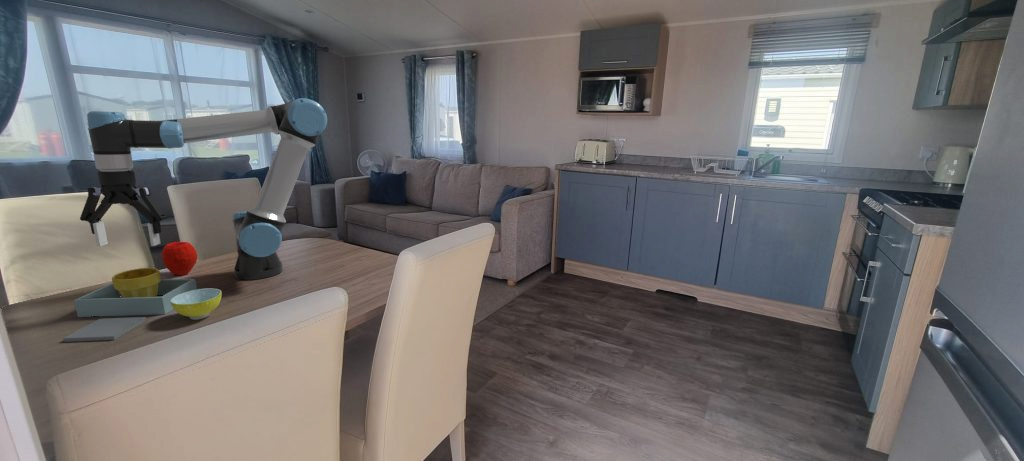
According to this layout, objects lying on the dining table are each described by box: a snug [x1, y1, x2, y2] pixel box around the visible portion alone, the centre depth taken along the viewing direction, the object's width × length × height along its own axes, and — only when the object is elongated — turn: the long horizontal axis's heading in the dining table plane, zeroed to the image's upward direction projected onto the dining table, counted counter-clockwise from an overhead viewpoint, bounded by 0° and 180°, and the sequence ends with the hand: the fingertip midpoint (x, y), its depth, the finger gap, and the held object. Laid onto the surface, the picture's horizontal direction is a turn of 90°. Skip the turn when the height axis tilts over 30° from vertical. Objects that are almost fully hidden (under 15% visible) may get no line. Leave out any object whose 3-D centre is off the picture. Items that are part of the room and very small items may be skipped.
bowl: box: [171, 287, 223, 321], centre depth 116 cm, size 11×12×6 cm
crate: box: [73, 278, 198, 318], centre depth 123 cm, size 22×15×5 cm
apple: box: [161, 240, 198, 276], centre depth 148 cm, size 10×10×12 cm
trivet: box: [62, 316, 147, 343], centre depth 107 cm, size 11×11×1 cm
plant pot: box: [111, 267, 162, 298], centre depth 122 cm, size 10×10×10 cm
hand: (129, 245), depth 119 cm, fingers open, 13 cm apart
